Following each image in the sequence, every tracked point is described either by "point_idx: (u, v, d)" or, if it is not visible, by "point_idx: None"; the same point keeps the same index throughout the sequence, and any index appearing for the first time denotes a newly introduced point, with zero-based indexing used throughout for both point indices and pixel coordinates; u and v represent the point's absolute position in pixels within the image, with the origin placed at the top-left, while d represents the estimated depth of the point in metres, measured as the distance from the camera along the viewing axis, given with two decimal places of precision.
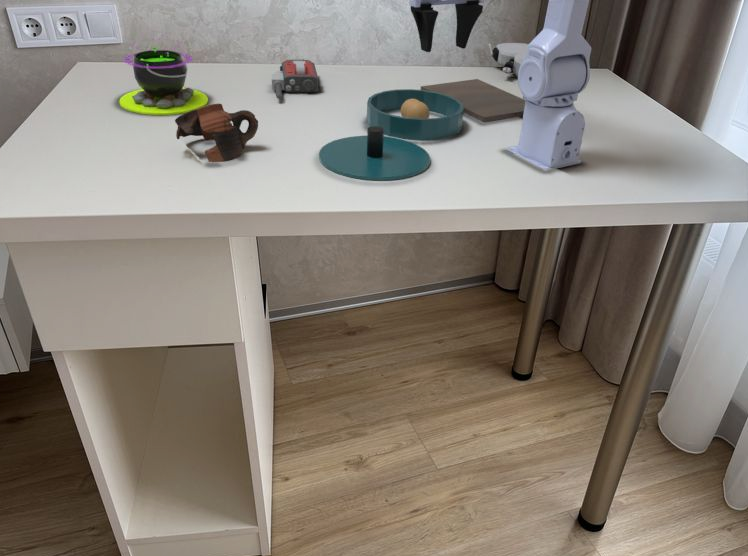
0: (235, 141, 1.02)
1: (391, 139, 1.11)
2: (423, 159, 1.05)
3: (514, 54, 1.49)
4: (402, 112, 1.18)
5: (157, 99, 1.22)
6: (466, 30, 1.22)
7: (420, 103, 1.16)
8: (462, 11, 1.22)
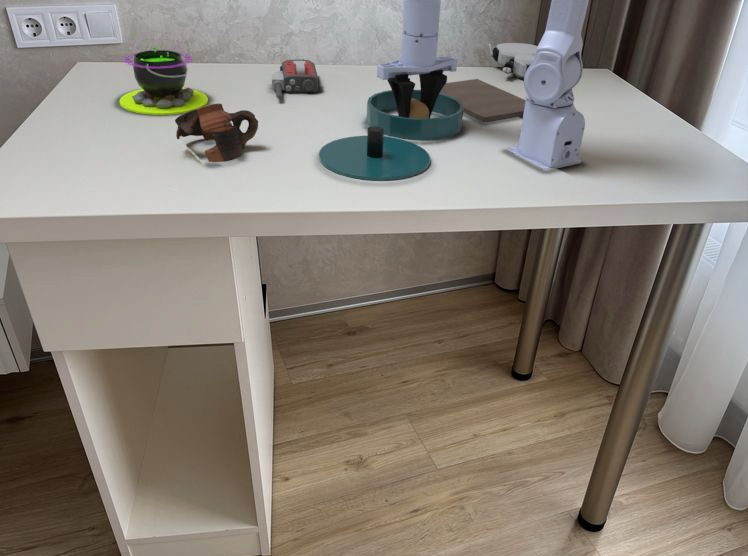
0: (235, 141, 1.02)
1: (391, 139, 1.11)
2: (423, 159, 1.05)
3: (514, 54, 1.49)
4: None
5: (157, 99, 1.22)
6: (430, 100, 1.17)
7: (420, 103, 1.16)
8: (426, 81, 1.16)
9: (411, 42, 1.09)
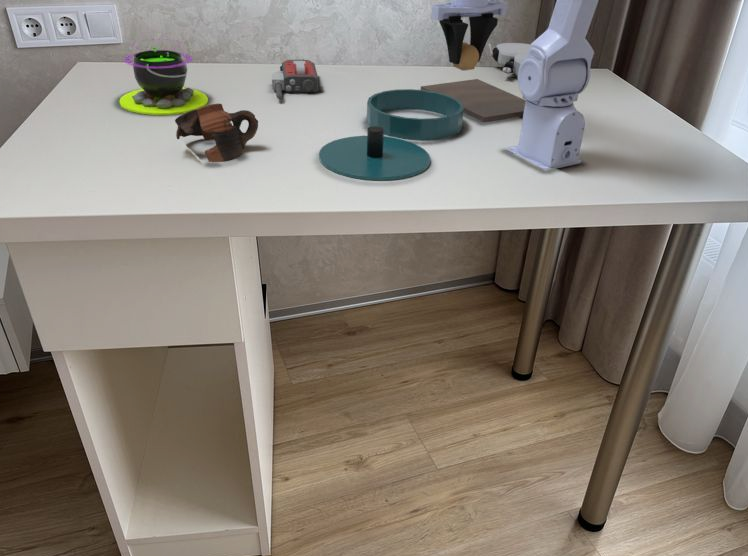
0: (235, 141, 1.02)
1: (391, 139, 1.11)
2: (423, 159, 1.05)
3: (514, 54, 1.49)
4: None
5: (157, 99, 1.22)
6: (480, 43, 1.20)
7: (470, 46, 1.19)
8: (476, 24, 1.19)
9: None
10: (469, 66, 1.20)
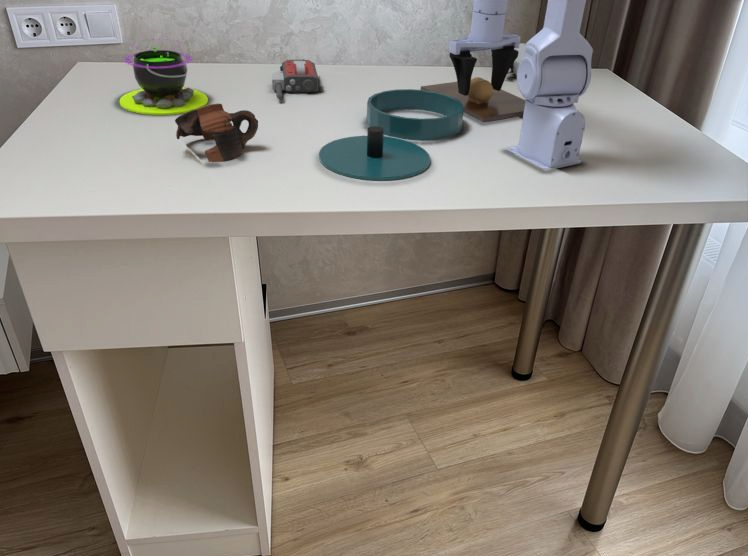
0: (235, 141, 1.02)
1: (391, 139, 1.11)
2: (423, 159, 1.05)
3: None
4: None
5: (157, 99, 1.22)
6: (502, 74, 1.27)
7: (485, 81, 1.26)
8: (498, 56, 1.27)
9: (482, 19, 1.19)
10: (484, 100, 1.27)
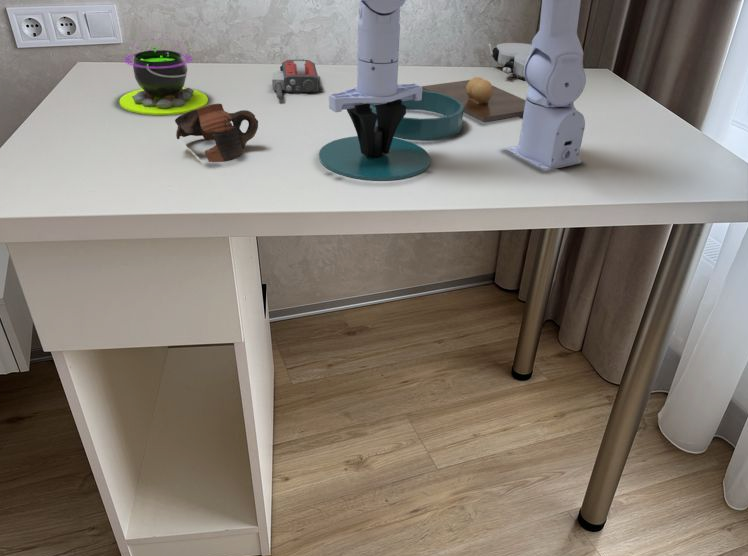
0: (235, 141, 1.02)
1: None
2: (423, 159, 1.05)
3: (514, 54, 1.49)
4: (468, 89, 1.28)
5: (157, 99, 1.22)
6: (388, 134, 1.03)
7: (485, 81, 1.26)
8: (382, 112, 1.02)
9: (367, 69, 0.95)
10: (484, 100, 1.27)
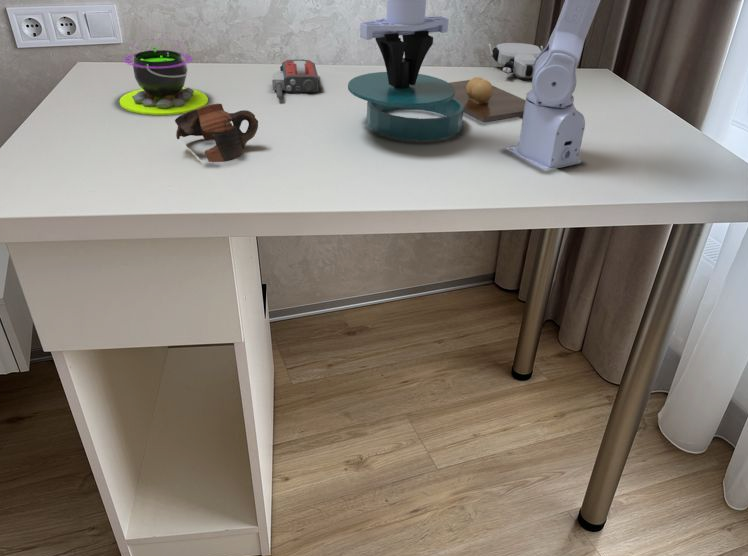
0: (235, 141, 1.02)
1: None
2: (448, 90, 1.08)
3: (514, 54, 1.49)
4: (468, 89, 1.28)
5: (157, 99, 1.22)
6: (415, 65, 1.06)
7: (485, 81, 1.26)
8: (410, 43, 1.06)
9: None
10: (484, 100, 1.27)
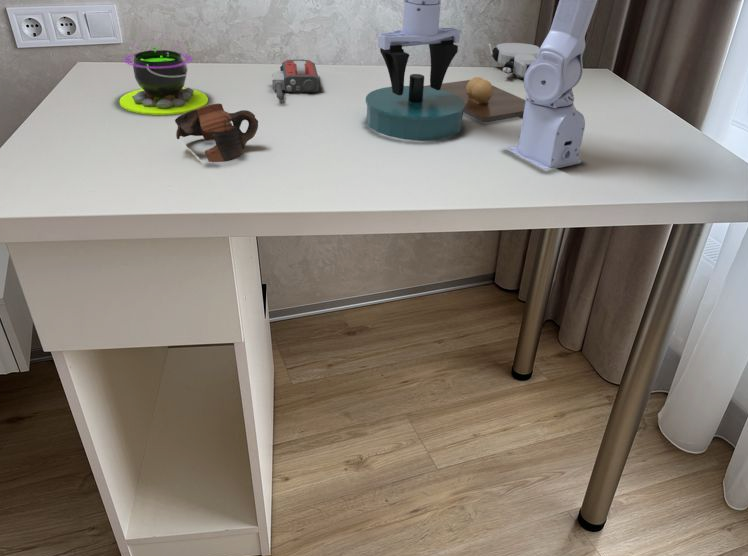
0: (235, 141, 1.02)
1: (428, 89, 1.23)
2: (459, 104, 1.17)
3: (514, 54, 1.49)
4: (468, 89, 1.28)
5: (157, 99, 1.22)
6: (440, 71, 1.15)
7: (485, 81, 1.26)
8: (436, 51, 1.14)
9: (413, 10, 1.06)
10: (484, 100, 1.27)
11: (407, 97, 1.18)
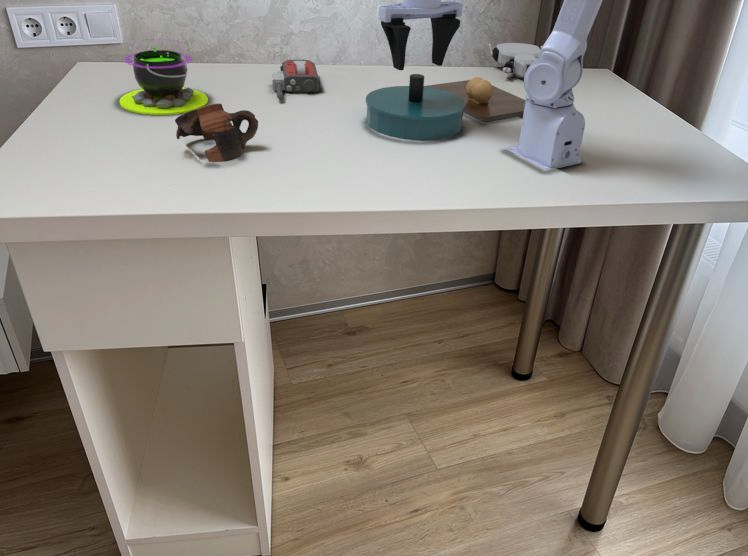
0: (235, 141, 1.02)
1: (428, 89, 1.23)
2: (459, 104, 1.17)
3: (514, 54, 1.49)
4: (468, 89, 1.28)
5: (157, 99, 1.22)
6: (442, 46, 1.13)
7: (485, 81, 1.26)
8: (438, 25, 1.12)
9: None
10: (484, 100, 1.27)
11: (407, 97, 1.18)
